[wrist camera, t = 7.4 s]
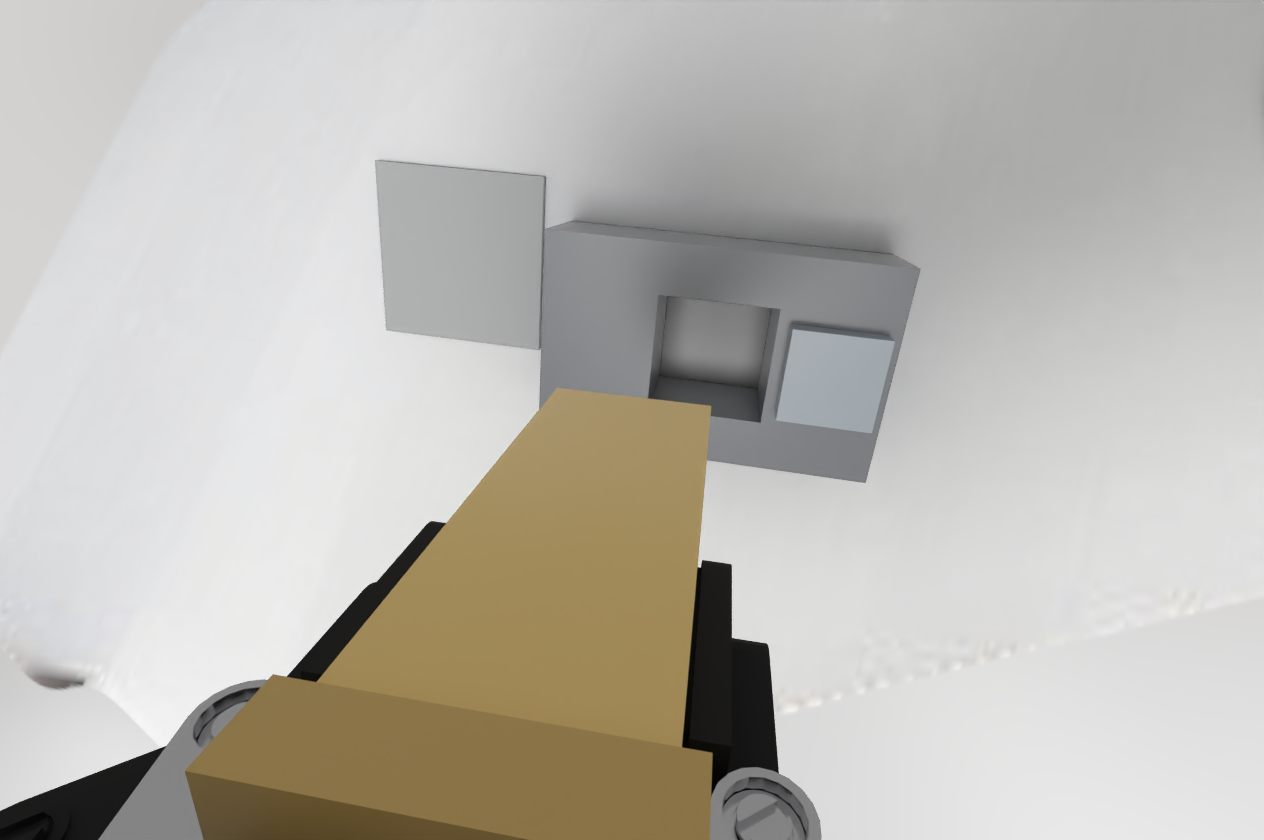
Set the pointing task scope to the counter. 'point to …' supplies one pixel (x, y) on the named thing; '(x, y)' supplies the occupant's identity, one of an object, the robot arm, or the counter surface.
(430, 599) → the plug
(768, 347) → the grey block with hole
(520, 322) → the mat
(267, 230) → the counter surface
